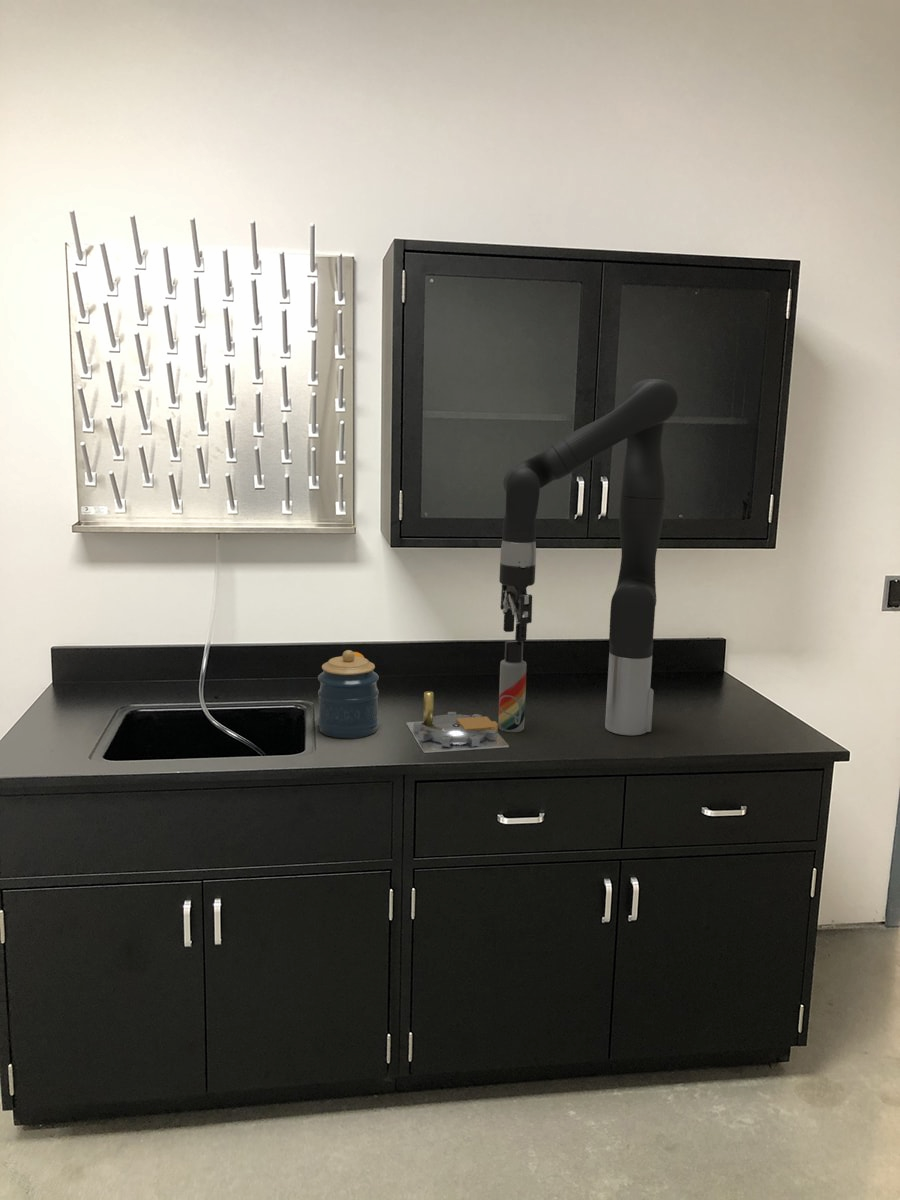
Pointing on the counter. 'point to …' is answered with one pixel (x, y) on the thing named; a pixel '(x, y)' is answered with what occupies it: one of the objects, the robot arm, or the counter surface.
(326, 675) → the canister
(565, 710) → the counter surface
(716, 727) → the counter surface
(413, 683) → the counter surface
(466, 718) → the sprocket
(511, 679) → the lotion bottle
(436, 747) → the base plate
